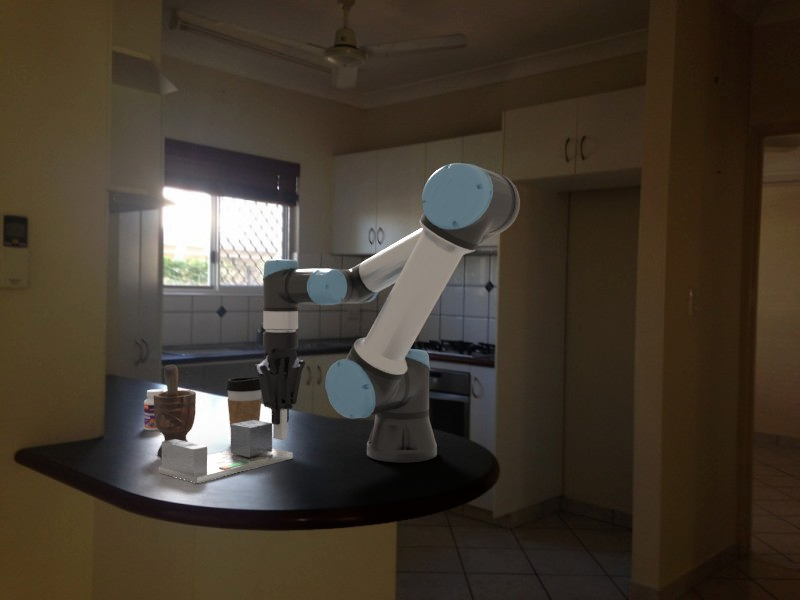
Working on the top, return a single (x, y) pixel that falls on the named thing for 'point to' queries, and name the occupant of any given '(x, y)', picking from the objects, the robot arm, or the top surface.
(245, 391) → the coffee cup
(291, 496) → the top surface
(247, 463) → the gauge base
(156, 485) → the top surface
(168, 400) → the mortar and pestle
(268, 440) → the grey rectangular block
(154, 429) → the pill bottle
